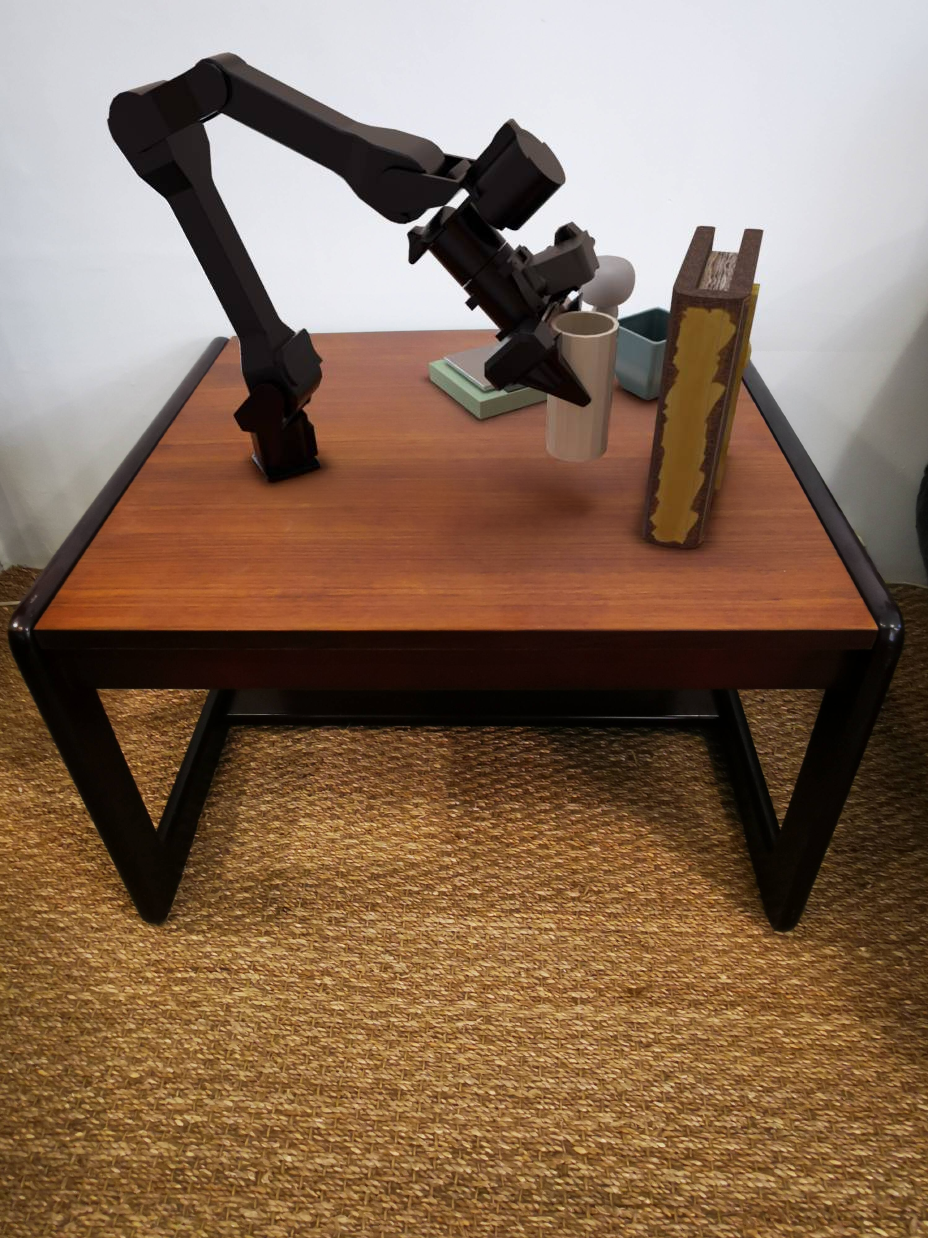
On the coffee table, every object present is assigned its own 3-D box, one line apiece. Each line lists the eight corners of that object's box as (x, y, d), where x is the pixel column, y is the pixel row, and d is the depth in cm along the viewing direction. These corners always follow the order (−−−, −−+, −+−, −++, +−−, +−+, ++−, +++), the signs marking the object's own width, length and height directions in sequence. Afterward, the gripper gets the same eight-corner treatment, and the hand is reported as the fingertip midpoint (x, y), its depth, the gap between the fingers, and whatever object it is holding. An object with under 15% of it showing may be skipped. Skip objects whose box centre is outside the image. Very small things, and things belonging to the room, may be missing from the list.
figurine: (593, 328, 126) (599, 245, 118) (637, 339, 123) (646, 254, 115) (564, 346, 122) (568, 261, 114) (609, 358, 118) (616, 271, 110)
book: (712, 553, 82) (763, 301, 66) (627, 539, 85) (656, 293, 68) (731, 446, 98) (777, 221, 82) (659, 437, 100) (689, 216, 84)
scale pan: (484, 390, 105) (484, 386, 104) (443, 360, 112) (443, 356, 112) (556, 370, 109) (556, 366, 108) (512, 342, 116) (512, 337, 116)
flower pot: (696, 392, 109) (707, 325, 103) (647, 411, 105) (656, 343, 99) (649, 370, 115) (657, 305, 109) (601, 387, 111) (606, 321, 105)
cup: (568, 468, 83) (576, 342, 74) (534, 442, 87) (537, 319, 78) (619, 451, 85) (632, 326, 76) (583, 426, 89) (592, 305, 80)
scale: (480, 419, 105) (479, 399, 103) (429, 379, 115) (428, 360, 113) (571, 392, 110) (572, 372, 108) (515, 356, 120) (515, 337, 118)
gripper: (521, 234, 65) (646, 381, 69) (569, 174, 78) (671, 301, 83) (431, 324, 72) (551, 452, 76) (489, 255, 85) (588, 368, 90)
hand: (594, 388), depth 81 cm, fingers closed on cup, 6 cm apart
